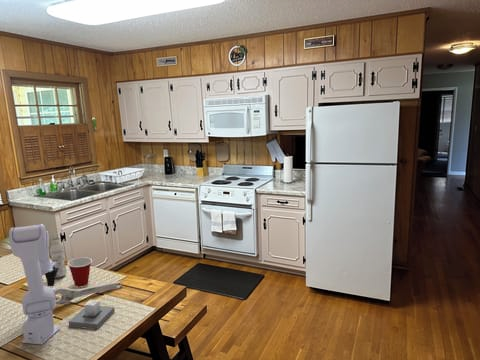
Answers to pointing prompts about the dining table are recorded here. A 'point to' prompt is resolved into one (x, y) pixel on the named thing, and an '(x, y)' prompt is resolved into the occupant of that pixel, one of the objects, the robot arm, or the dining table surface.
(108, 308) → the socket block
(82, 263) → the plastic cup
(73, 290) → the wrench
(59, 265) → the plastic bottle
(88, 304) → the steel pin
